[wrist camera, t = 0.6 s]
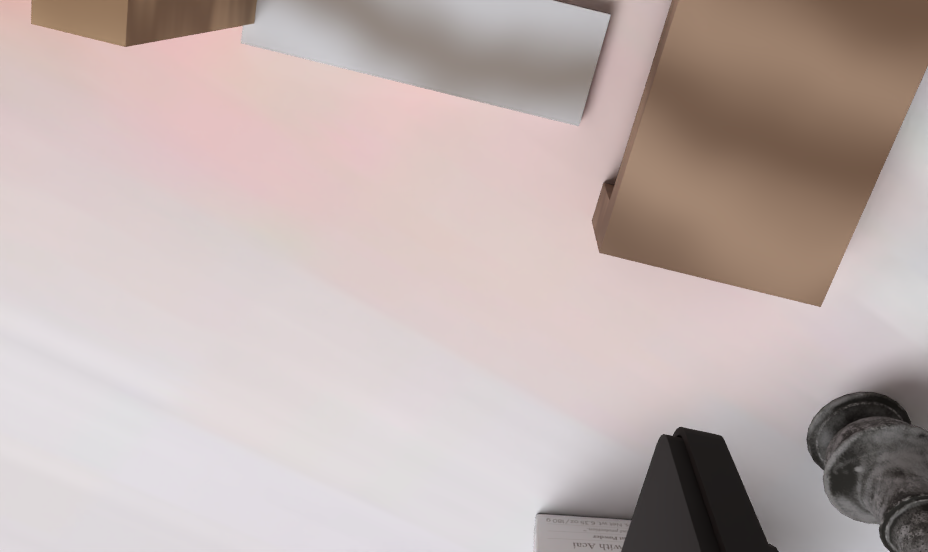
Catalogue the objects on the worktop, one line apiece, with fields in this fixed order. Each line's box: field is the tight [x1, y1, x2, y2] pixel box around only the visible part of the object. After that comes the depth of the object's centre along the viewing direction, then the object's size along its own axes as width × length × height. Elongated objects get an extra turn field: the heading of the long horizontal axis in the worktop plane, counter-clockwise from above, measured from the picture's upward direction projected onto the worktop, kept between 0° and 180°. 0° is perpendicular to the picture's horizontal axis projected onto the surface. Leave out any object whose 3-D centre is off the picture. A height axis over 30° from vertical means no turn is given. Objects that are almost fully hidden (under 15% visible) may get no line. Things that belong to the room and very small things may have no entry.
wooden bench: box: [592, 0, 928, 307], centre depth 34 cm, size 14×10×5 cm
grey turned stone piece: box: [807, 392, 928, 552], centre depth 36 cm, size 6×6×12 cm
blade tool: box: [31, 0, 611, 126], centre depth 30 cm, size 5×18×13 cm, turn 77°
